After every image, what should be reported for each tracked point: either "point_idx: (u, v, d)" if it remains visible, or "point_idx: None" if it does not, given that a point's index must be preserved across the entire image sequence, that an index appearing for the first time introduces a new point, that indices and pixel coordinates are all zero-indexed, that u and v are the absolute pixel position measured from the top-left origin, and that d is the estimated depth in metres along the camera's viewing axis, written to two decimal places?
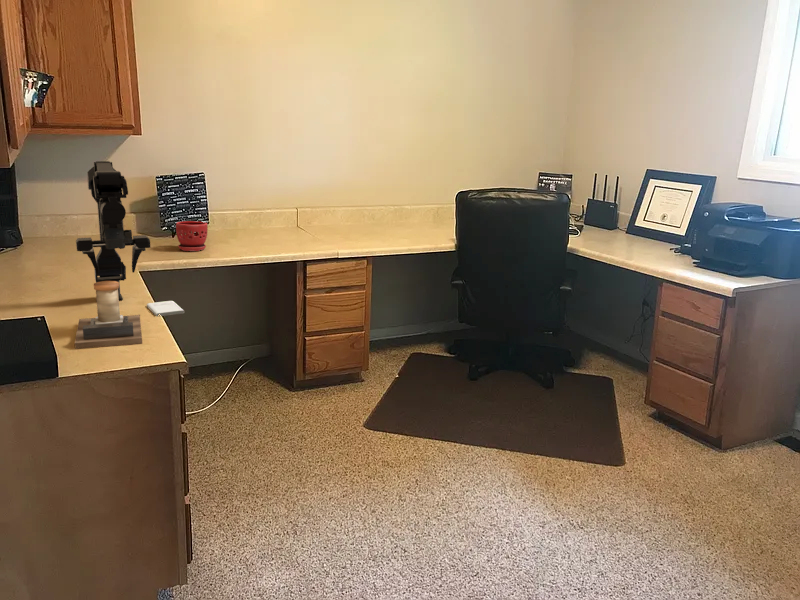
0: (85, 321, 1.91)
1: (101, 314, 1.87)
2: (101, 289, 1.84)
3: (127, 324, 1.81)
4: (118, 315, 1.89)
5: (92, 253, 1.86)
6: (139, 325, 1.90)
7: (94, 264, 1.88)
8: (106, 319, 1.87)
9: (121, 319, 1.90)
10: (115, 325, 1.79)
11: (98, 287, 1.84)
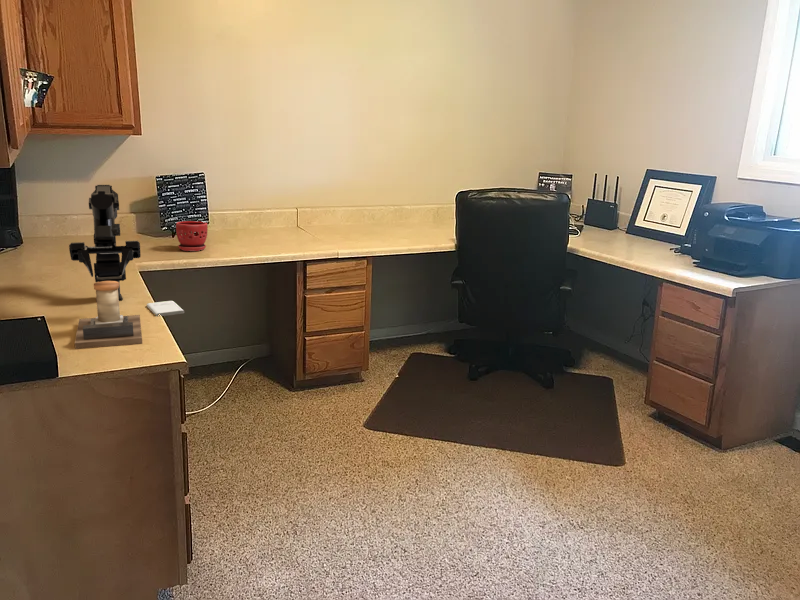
0: (85, 321, 1.91)
1: (101, 314, 1.87)
2: (101, 289, 1.84)
3: (127, 324, 1.81)
4: (118, 315, 1.89)
5: (86, 251, 1.94)
6: (139, 325, 1.90)
7: (88, 264, 1.94)
8: (106, 319, 1.87)
9: (121, 319, 1.90)
10: (115, 325, 1.79)
11: (98, 287, 1.84)
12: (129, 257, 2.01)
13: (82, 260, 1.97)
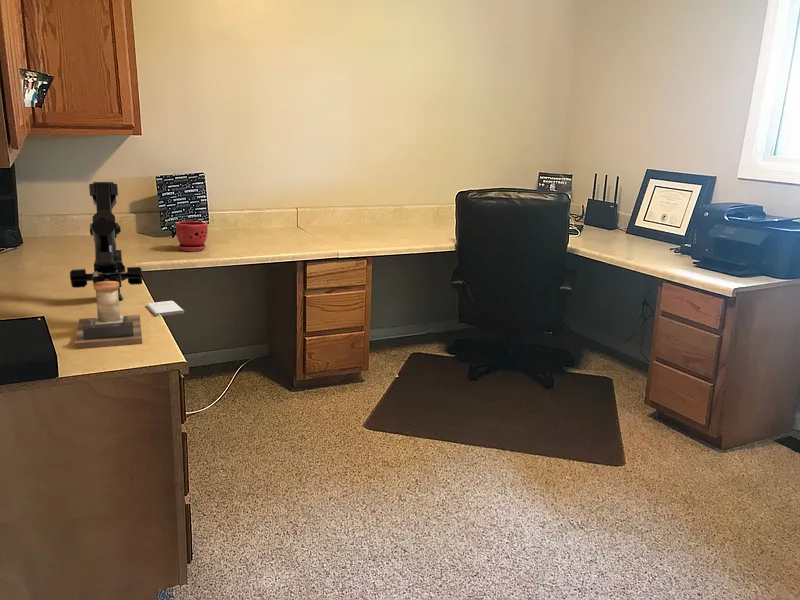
0: (85, 321, 1.91)
1: (101, 314, 1.87)
2: (101, 289, 1.84)
3: (127, 324, 1.81)
4: (118, 315, 1.89)
5: (101, 277, 1.92)
6: (139, 325, 1.90)
7: None
8: (106, 319, 1.87)
9: (121, 319, 1.90)
10: (115, 325, 1.79)
11: (98, 287, 1.84)
12: None
13: None
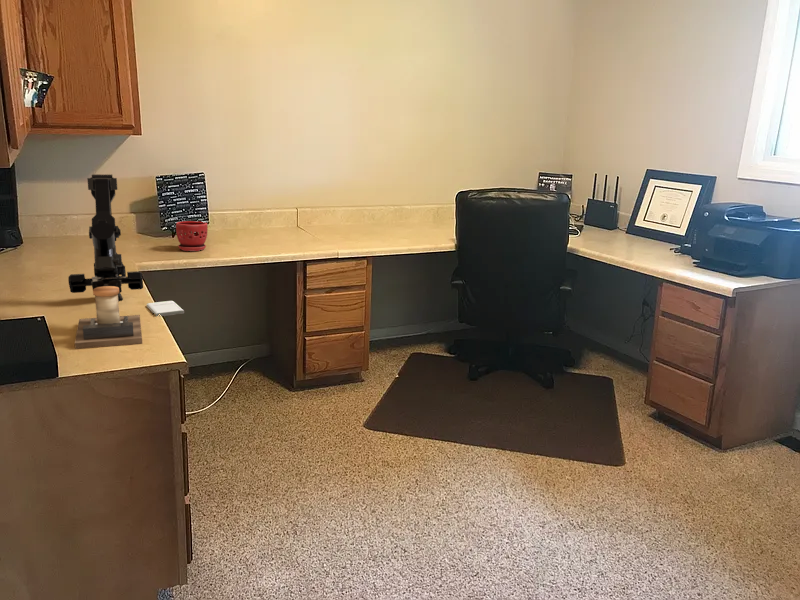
0: (85, 321, 1.91)
1: (100, 320, 1.81)
2: (100, 295, 1.79)
3: (127, 324, 1.81)
4: (118, 321, 1.84)
5: (101, 283, 1.86)
6: (139, 325, 1.90)
7: None
8: None
9: None
10: (115, 325, 1.79)
11: (97, 293, 1.79)
12: None
13: None
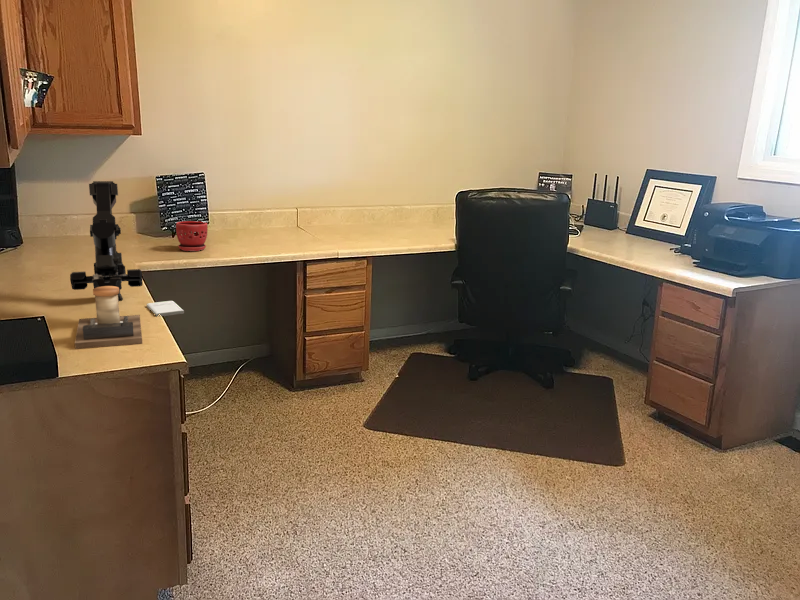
0: (85, 321, 1.91)
1: (100, 320, 1.81)
2: (100, 295, 1.79)
3: (127, 324, 1.81)
4: (118, 321, 1.84)
5: (102, 280, 1.92)
6: (139, 325, 1.90)
7: None
8: None
9: None
10: (115, 325, 1.79)
11: (97, 293, 1.79)
12: (117, 286, 1.96)
13: None
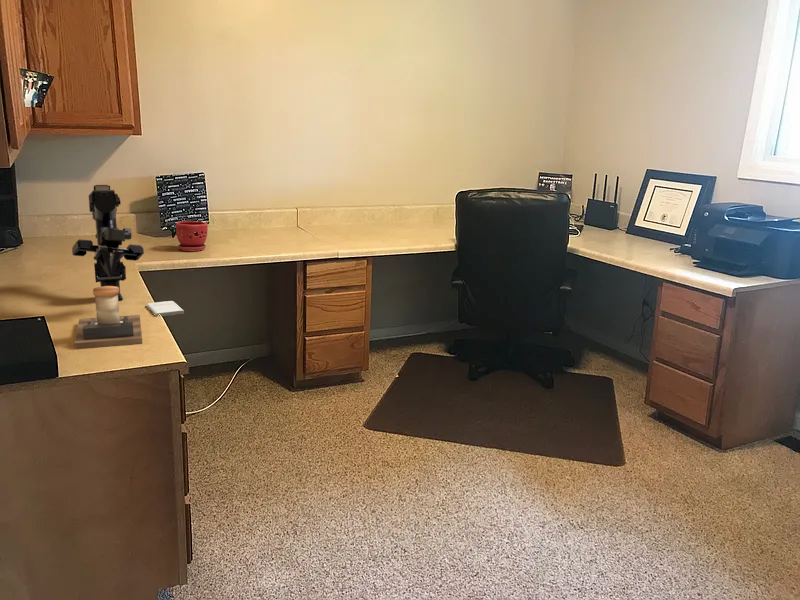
0: (85, 321, 1.91)
1: (100, 320, 1.81)
2: (100, 295, 1.79)
3: (127, 324, 1.81)
4: (118, 321, 1.84)
5: (108, 252, 1.98)
6: (139, 325, 1.90)
7: (108, 265, 1.98)
8: None
9: None
10: (115, 325, 1.79)
11: (97, 293, 1.79)
12: None
13: (97, 258, 2.00)
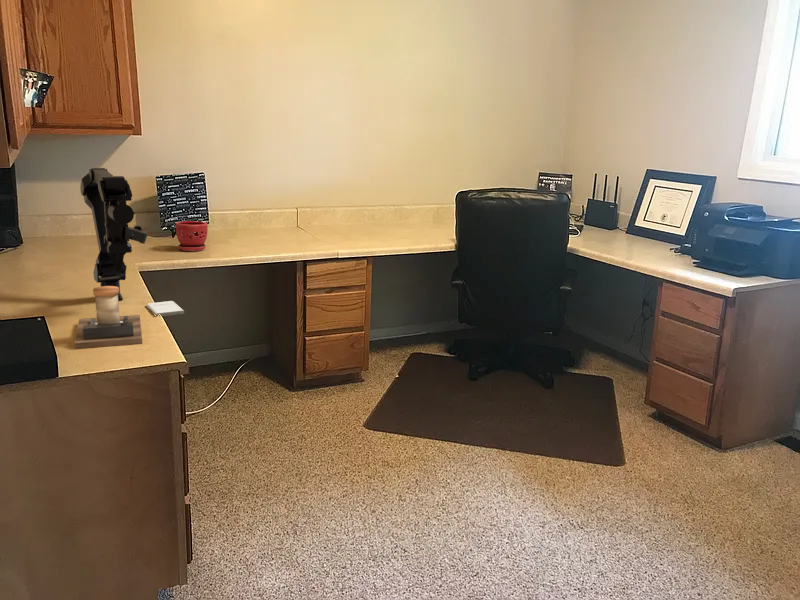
0: (85, 321, 1.91)
1: (100, 320, 1.81)
2: (100, 295, 1.79)
3: (127, 324, 1.81)
4: (118, 321, 1.84)
5: None
6: (139, 325, 1.90)
7: None
8: None
9: None
10: (115, 325, 1.79)
11: (97, 293, 1.79)
12: None
13: None
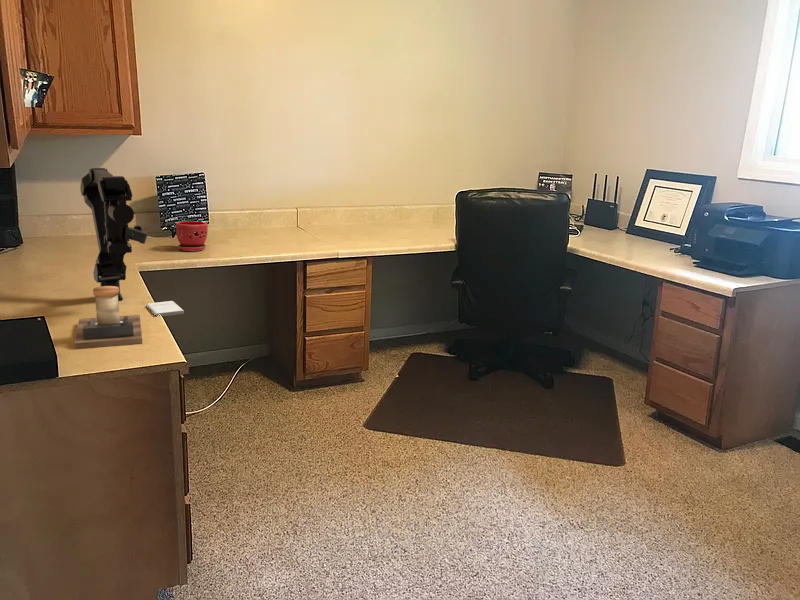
0: (85, 321, 1.91)
1: (100, 320, 1.81)
2: (100, 295, 1.79)
3: (127, 324, 1.81)
4: (118, 321, 1.84)
5: None
6: (139, 325, 1.90)
7: None
8: None
9: None
10: (115, 325, 1.79)
11: (97, 293, 1.79)
12: None
13: None
